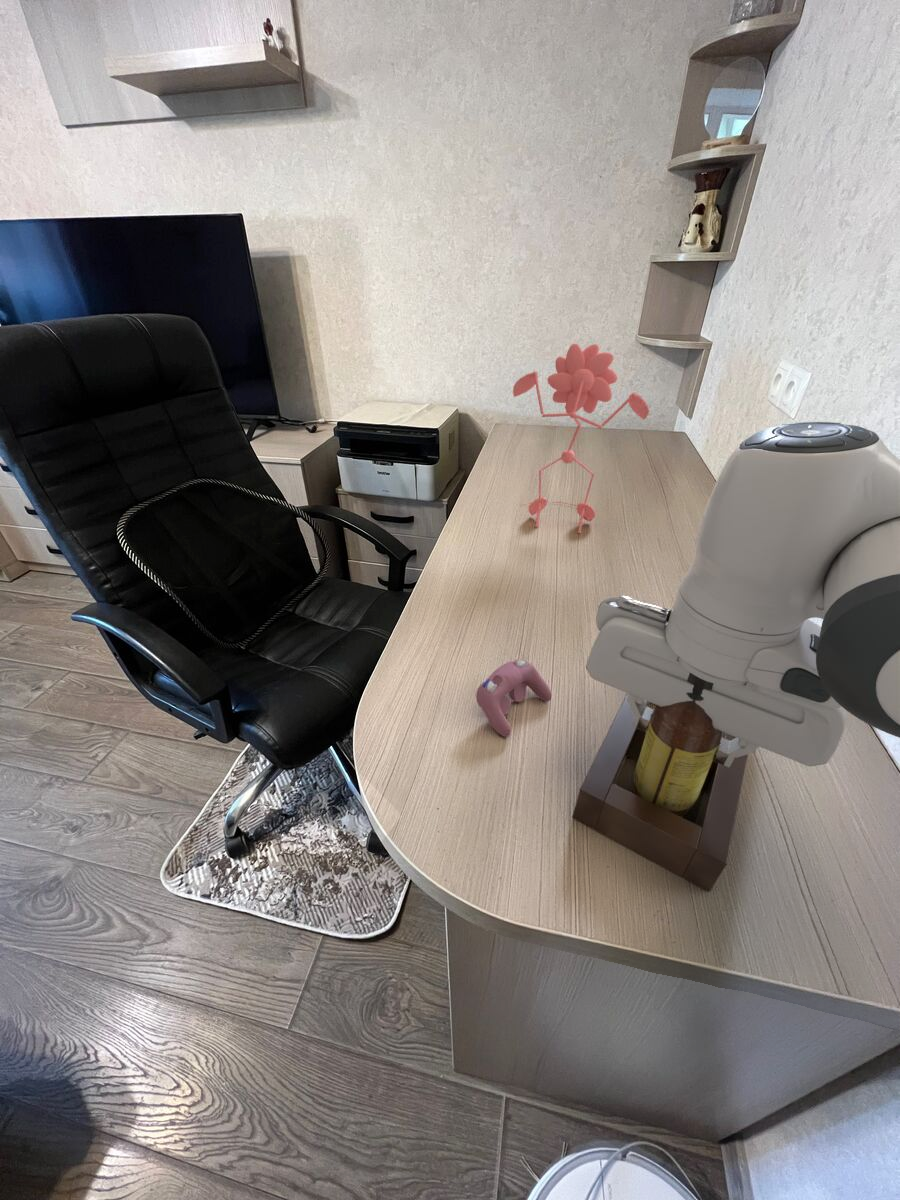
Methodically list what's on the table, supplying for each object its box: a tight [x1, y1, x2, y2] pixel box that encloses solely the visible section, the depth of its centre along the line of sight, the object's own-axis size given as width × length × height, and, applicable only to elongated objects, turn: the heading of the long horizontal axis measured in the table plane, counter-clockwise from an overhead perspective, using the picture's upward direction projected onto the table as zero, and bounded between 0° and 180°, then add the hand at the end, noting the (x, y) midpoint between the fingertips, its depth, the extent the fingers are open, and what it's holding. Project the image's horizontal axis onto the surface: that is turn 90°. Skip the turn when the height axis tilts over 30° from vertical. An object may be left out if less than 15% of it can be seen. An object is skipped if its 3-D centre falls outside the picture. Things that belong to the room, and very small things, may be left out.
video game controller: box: [475, 659, 552, 738], centre depth 64 cm, size 10×5×7 cm, turn 135°
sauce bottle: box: [633, 673, 722, 818], centre depth 47 cm, size 6×6×20 cm
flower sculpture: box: [512, 343, 650, 538], centre depth 102 cm, size 15×26×35 cm, turn 74°
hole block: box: [572, 693, 749, 893], centre depth 56 cm, size 14×24×5 cm, turn 147°
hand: (680, 741), depth 48 cm, fingers closed on sauce bottle, 6 cm apart
